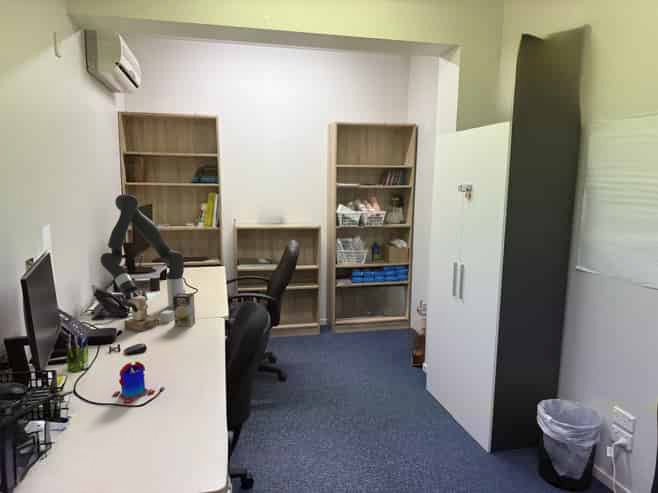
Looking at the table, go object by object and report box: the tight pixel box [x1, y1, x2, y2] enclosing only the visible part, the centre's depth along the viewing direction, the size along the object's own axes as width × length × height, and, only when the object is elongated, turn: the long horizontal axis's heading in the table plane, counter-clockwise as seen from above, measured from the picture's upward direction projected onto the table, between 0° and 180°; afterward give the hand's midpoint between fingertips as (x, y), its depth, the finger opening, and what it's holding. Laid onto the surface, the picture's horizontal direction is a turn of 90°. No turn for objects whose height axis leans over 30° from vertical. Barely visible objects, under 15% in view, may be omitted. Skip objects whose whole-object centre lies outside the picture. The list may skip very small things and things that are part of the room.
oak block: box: [131, 296, 148, 320], centre depth 228 cm, size 5×5×11 cm
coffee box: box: [173, 292, 196, 327], centre depth 232 cm, size 9×6×16 cm
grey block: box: [159, 309, 175, 323], centre depth 239 cm, size 5×5×5 cm
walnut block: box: [123, 315, 158, 333], centre depth 229 cm, size 11×11×4 cm
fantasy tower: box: [111, 361, 156, 405], centre depth 158 cm, size 12×12×12 cm
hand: (141, 309), depth 227 cm, fingers closed on oak block, 5 cm apart
